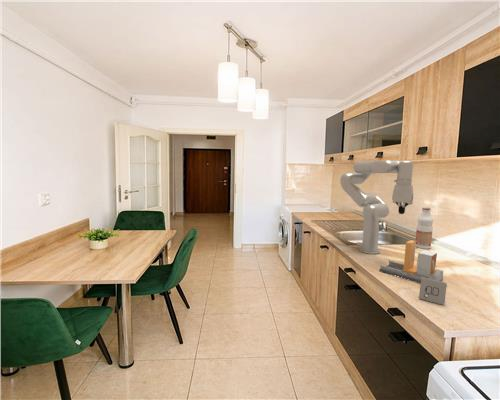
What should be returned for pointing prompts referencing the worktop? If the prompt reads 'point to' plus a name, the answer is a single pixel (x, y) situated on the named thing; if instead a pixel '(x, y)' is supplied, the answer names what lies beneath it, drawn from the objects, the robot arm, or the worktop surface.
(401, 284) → the worktop surface
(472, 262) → the worktop surface
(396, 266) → the din rail
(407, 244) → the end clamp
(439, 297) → the electrical switch
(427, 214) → the fruit juice
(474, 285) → the worktop surface
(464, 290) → the worktop surface
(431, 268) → the small box
